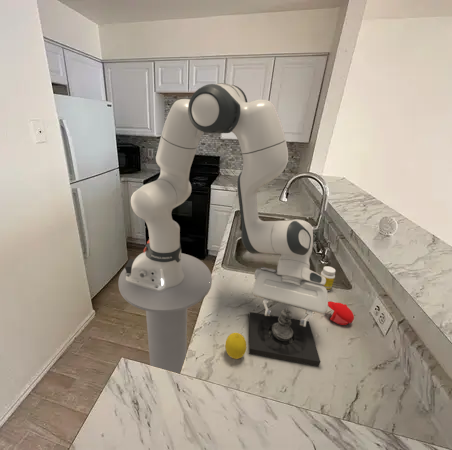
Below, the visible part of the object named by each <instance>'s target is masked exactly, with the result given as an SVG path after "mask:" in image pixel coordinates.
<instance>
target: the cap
mask: <svg viewBox="0 0 452 450" xmlns="http://www.w3.org/2000/svg"><path fill="white" fill-rule="evenodd" d="M328 308H330V310H332V311H333V313H332V314H331V317H330V318H329V320H330V321H331V322H334V323H335V324H337V325H340V326H347V325H348V324H352V323H353V322H354V319H355V315H354V313H353V311H352V310H351V308H350V307H348V304H346V303H341V302H335V301H332V300H331V301H329V300H328Z"/></svg>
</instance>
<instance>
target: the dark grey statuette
mask: <svg viewBox="0 0 452 450" xmlns="http://www.w3.org/2000/svg"><path fill="white" fill-rule="evenodd" d="M292 316H293V312H292V311H291V310H290V309H289V308H288V307H286V308H283V309H282V310H281V312H280V315H279V318H278V321H279V322H278V323H275V324H273V325H272V330H271V331H272V333H271V334H270V337H271V338H272V339H273V340H274V341H275V342H277V343H279V344H282V345H289V344H291V340H290V339H292V336H293V331H292V329H291V328H290V327H289V325H291V319H292Z"/></svg>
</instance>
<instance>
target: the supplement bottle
mask: <svg viewBox="0 0 452 450" xmlns="http://www.w3.org/2000/svg"><path fill="white" fill-rule="evenodd" d="M336 272H337V271H336V269H335V267H332V266H327V265H326V266H325V265H324V266H323V269H322V270H321V272H320V274H319V275H321V276H323V277H325V278H326V283H325V285H324V287H325V288H326V290H327V292H330V291H332V287H333V285H334V282H335V278H336V275H335V274H336Z"/></svg>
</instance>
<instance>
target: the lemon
mask: <svg viewBox="0 0 452 450" xmlns="http://www.w3.org/2000/svg"><path fill="white" fill-rule="evenodd" d="M224 347H225V352H226V354H227V355H228V356H229V357H230V358H232V359H234V360H238V359H241V358H243V357H244V356H245V354H246V352H247V340H246V338H245V337H244V335H242V334H241V333H239V332H232V333H230V334H229V335H228V336H227V338H226V340H225V345H224Z"/></svg>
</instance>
